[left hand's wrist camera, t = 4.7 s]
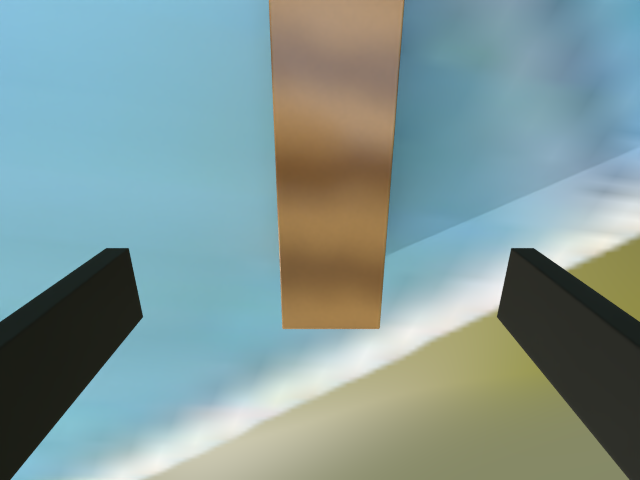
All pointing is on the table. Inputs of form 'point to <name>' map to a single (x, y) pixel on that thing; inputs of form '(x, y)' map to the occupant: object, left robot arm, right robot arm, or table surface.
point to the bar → (333, 155)
